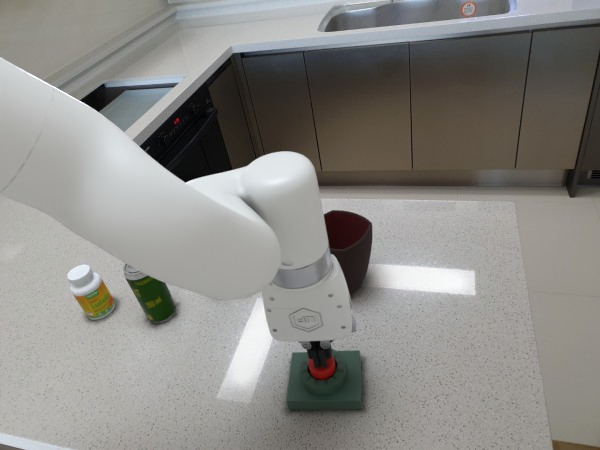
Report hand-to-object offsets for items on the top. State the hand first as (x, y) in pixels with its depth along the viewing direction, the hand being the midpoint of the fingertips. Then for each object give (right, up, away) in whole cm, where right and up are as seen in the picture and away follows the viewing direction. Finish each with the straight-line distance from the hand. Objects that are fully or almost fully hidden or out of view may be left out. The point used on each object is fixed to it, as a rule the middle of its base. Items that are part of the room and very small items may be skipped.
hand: (321, 358), depth 62 cm
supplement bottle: (-40, +2, +24) cm, 47 cm away
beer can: (-28, +2, +21) cm, 35 cm away
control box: (+1, -5, +3) cm, 6 cm away
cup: (+4, +8, +20) cm, 22 cm away
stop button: (0, -2, +1) cm, 2 cm away
